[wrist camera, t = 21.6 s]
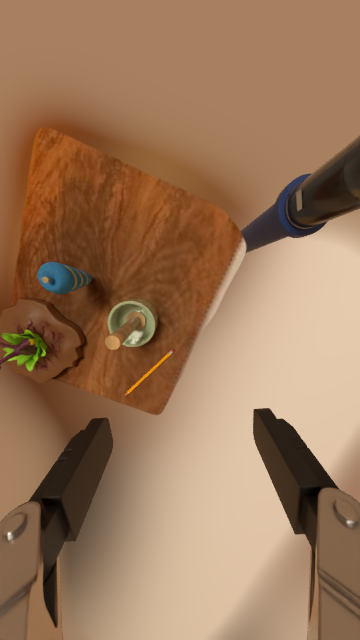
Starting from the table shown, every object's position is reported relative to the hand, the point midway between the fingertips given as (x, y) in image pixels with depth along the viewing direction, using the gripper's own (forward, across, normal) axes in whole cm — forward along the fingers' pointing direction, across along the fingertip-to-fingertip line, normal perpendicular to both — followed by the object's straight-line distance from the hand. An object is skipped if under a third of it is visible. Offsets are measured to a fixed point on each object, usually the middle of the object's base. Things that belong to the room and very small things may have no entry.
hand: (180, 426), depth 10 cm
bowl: (+33, +11, +1) cm, 35 cm away
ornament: (+33, +20, -10) cm, 40 cm away
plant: (+33, +36, +4) cm, 49 cm away
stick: (+33, +11, +1) cm, 34 cm away
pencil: (+33, +10, +16) cm, 38 cm away
